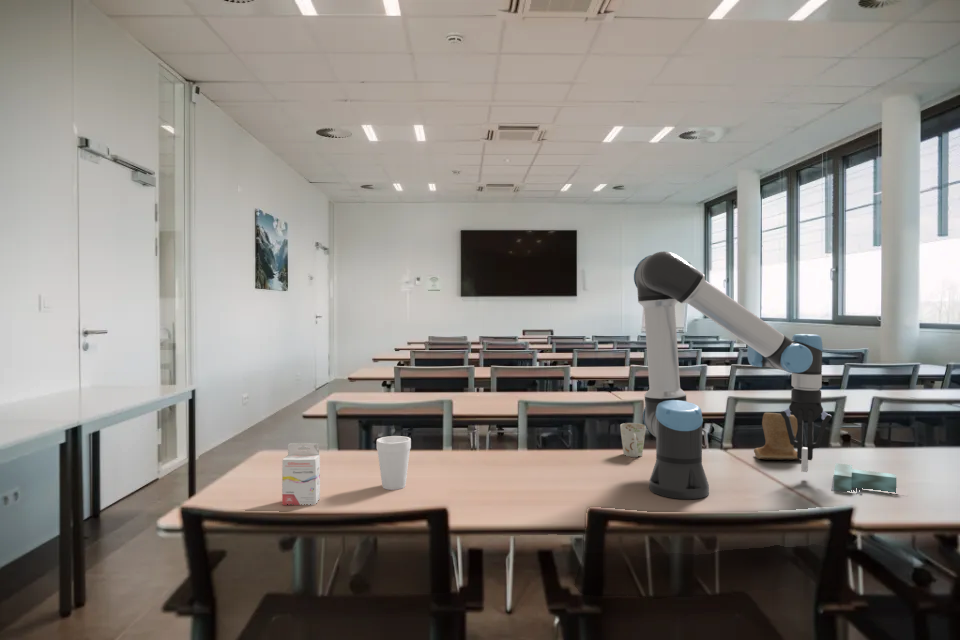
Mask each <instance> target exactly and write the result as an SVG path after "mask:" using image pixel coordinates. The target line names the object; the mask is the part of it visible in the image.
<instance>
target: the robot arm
mask: <svg viewBox="0 0 960 640" xmlns="http://www.w3.org/2000/svg"><path fill="white" fill-rule="evenodd" d="M633 282H634V284H635V287H636V288H637V291H636V292H637V303H639V305H640V306H641V307H643V311H644V328H645V343H646V353H647V354H646V357H647V358H646V359H647V371H648V385H649V386H648V390H647V391H646V392H645V394H644V405H645V407H644V409H643V413H642V417H643V418H642V419H643V425H645V426H646V430H647V431H648V432H649V434H651V435H652V436H653V437H655V439H656V440H655V441H656V442H655V443H656V444H655V451H656V452H655V453H656V454H655V455H656V457H655V458H656V459H655V463H654V467H653V469H652V472H651V475H650V478H649V490H650V491H651V492H652V493H654V494H655V495H656V494H657V495H658V496H661V497H666V498H670V499H678V500H697V499H703V498H706V497H707V496H709V494H710V484H709V481H708V478H707V475H706V473H705V469H704V467H703V466H704V465H703V422H704V420H703V412H702V409H701V408H700V406H699V405H697V404H695V403H694V402H689V401H688V399H687V394H686V392H685V391H684V390H683V389H682V388H681V382H680V367H679V349H678V348H679V347H678V337H677V336H678V335H677V322H676V321H677V320H676V305H677V303H680V304H688V305H690V306H691V307H693V308H694V309H695V310H697V312H699V313H701V314H702V315H704V316H705V317H707V318H708V319H710V320H711V321H712V322H714V323H715V324H717V325H718V326H720V327H721V328H723V329H724V330H725V331H726V332H728V333H730V334H731V335H733V336H734V337H735V338H737V339H738V340H740V341H741V342H742V343H744V344H746V345H747V351H746V352H747V353H746V354H747V361H748V363H749V365H750V366H752V367H756V368H757V367H758V368H772V369H775V370H780V371H785V372H787V373H790V374H791V387H793V388H791V389H790V391H791V393H790V394H791V395H790V396H791V397H790V404H789V406H788V408H786V409H782V410H781V411H780V414H781V415H782V416H783V418H784V419H785V424H786V428H787V432H788V436H789V440H790V444H791V445H793V447H794V446H795V447H796V449H797V450H796V451H797V458H798V459H797V460H801V466H800V467H801V471H800V472H803V473H808V471H809V461H812V460H813V458H814V457H813V456H814V455H813V453H814V449H816V448H817V449H818V448H820V447H821V443H822V441H823V437H824V434H825V430H826V427H827V424H828V423H829V422H830V421H831V420H832V417H833V416H832V415H831V414H830V413H829V414H828V412H826V411H825V410H824V408H823V405H822V390H821V389H822V382H823V376H822V375H823V374H822V372H823V371H822V369H823V368H822V367H823V352H824V350H823V338H822V336H820V335H819V334H812V333H810V334H808V333H798V334H797V333H796V334H793V335H792V339H790V338H789V337H788V336H786V335H784V334H783V333H782V332H780V331H779V330H777V329H776V328H775V327H773V326H772V325H770V324H768V323H767V322H766V321H765V320H763V319H762V318H760V317H758V316H757V315H755V314H754V313H753V312H752V311H750V310H749V309H747V308H746V307H745V306H743V305H742V304H740V303H739V302H738V301H736V300H734V299H733V298H731V297H730V296H729V295H728V294H726V293H725V292H723V291H721V290H720V289H718V288H717V287H716V286H714V285H713V284H712V283H710V282H708V281H707V280H706V278H705V274H704V273H703V272H702V271H700V270H698V269H697V268H696V267H694V265H692V264H691V263H689V262H688V261H686V260H685V259H684V258H682V257H681V256H679V255H677V254H676V253H673V252H671V251H658V252H655V253H653V254H651V255H648V256H645V257H644V258H643V259H641V260H640V261H639V262H638V264H637V265H636V267H635V268H634V272H633ZM790 415H794V416H795V418H796V419H797V426H798V427H797V434H796V437H795V436H794V432H793V428H792V424H791V420H790V417H789V416H790ZM820 416H821V420H822V421H821V425H820V428H819V431H818V434H817V438H816V441H815V442H814V422H815V421H816V420H817V419H818V418H819V417H820ZM804 422H807V447H806V446H803V445H804V441H803V440H804ZM796 438H797V440H796Z"/></svg>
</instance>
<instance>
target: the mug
mask: <svg viewBox="0 0 960 640" xmlns="http://www.w3.org/2000/svg"><path fill="white" fill-rule="evenodd" d="M619 427H620V429H619V430H620V436H621V437H620V438H621V444H622V452H623V455H624V456H625V455H626V457H628V456H630V458H639V457H638V456H641V457H642V456H643V452H644V444H645V438H646V431H647V428H646V426H645V424H644V423H643V424H642V423H638V422H637V423H636V422H625V423H624V422H623V423H621V424H620V425H619Z"/></svg>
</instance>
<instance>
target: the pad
mask: <svg viewBox="0 0 960 640" xmlns="http://www.w3.org/2000/svg"><path fill="white" fill-rule="evenodd" d="M853 490H854V491H855V492H856V488H855V487H852V492H853ZM859 490H860V492H859ZM830 491H831V492H836V493H837V492H838V493H843V492H847V491H842V490H835V489H834V474H833V477H832V482H831V488H830ZM861 492H862V493H861ZM857 494H860V495H859V496H863V490H862V488H857V493H856V494H855V495H857Z"/></svg>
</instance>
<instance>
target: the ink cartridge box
mask: <svg viewBox="0 0 960 640" xmlns="http://www.w3.org/2000/svg"><path fill="white" fill-rule="evenodd" d="M303 447H304V448H306V449H301V448H303ZM281 462H282V465H281V466H282V468H281V471H282V472H281V473H282V474H281V475H282V479H281V480H282V481H281V483H282V484H281V485H282V486H281V487H282V489H281V492H282V493H281V496H282V497H281V499H282V500H281V502H282V503H281V504H283V505H282V506H314V505H313V504H316V503H319V501H320V498H321V472H320V471H321V455H320V444H319V443H318V442H317V443H315V442H314V443H312V442H311V443H309V442H308V443H304V442H303V443H301V442H300V443H299V442H298V443H297V442H295V443H288V444H287V455H286V456H285V457H284V458H282V461H281ZM318 500H319V501H318ZM287 504H288V505H287ZM290 504H292V505H290ZM293 504H294V505H293ZM301 504H302V505H301ZM304 504H305V505H304ZM306 504H308V505H306ZM310 504H311V505H310ZM316 505H317V504H316Z"/></svg>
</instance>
